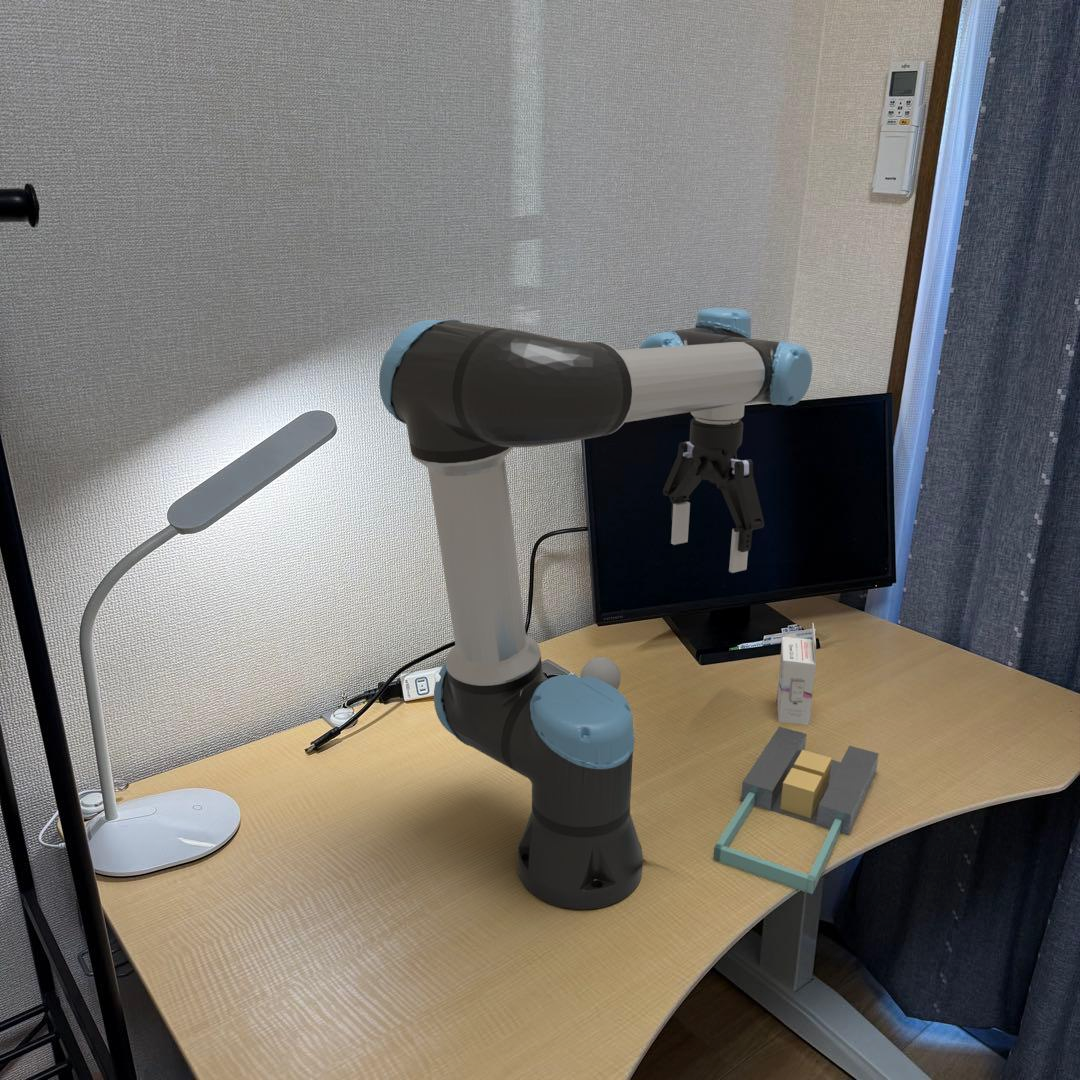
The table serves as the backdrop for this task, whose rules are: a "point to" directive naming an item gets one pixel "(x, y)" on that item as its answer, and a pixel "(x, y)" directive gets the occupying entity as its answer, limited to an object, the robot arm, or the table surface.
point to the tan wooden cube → (801, 792)
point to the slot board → (840, 794)
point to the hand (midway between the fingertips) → (707, 556)
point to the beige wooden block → (815, 766)
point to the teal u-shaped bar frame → (766, 867)
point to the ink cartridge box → (796, 679)
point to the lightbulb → (602, 671)
